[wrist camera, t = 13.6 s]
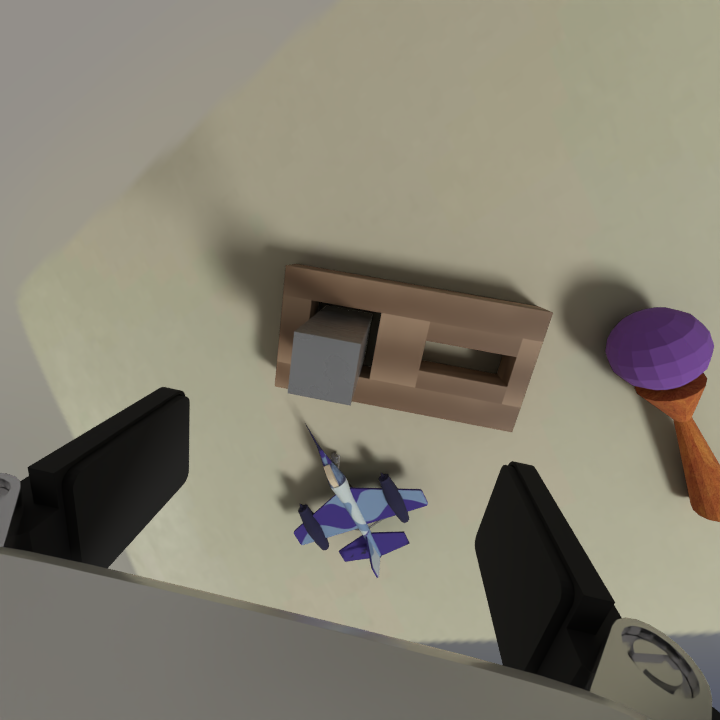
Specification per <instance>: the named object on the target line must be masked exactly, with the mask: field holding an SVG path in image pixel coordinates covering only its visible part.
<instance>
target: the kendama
mask: <svg viewBox="0 0 720 720" xmlns="http://www.w3.org/2000/svg"><path fill="white" fill-rule="evenodd" d="M713 349H714V344H713V341H712V338H711V335H710V332H709V331H708V329H707V328H706V327H705V326H704V325H703V324H702V323H701V322H700V321H699V320H697V319H696V318H695V317H694V316H692V315H691V314H689V313H686V312H682V311H679V310H674V309H670V308H666V307H655V308H649V309H644V310H641V311H638V312H635V313H632V314H630V315H628V316H626V317H625V318H623V319H622V320H621V321H620V322H619V323H618V324H617V325H616V326H615V327H614V329H613V330H612V331H611V332H610V334H609V336H608V339H607V344H606V351H605V352H606V355H607V358H608V361H609V363H610V365H611V367H612V370H613V372H615V373H616V374H617V375H619V376H620V377H621V378H622V379H624V380H625V381H627V382H628V383H630V384H631V385H633V386H635V390H636V392H637V394H638V395H640V396H641V397H643V398H644V399H646V400H647V401H648V402H650V403H651V404H653V405H654V406H655V407H657V408H658V409H660V410H661V411H662V412H664V413H665V414H667V415H668V416H669V417H671V418H672V419H673V420H674V425H675V430H676V434H677V439H678V444H679V449H680V454H681V459H682V464H683V469H684V474H685V479H686V484H687V488H688V493H689V498H690V503H691V506H692V508H693V510H694V511H695V512H696V513H697V514H698V515H700V516H702V517H704V518H706V519H708V520H712V521H717V522H720V465H719V463H718V461H717V459H716V458H715V456H714V454H713V453H712V451H711V449H710V447H709V446H708V444H707V442H706V441H705V439H704V437H703V435H702V434H701V432H700V430H699V429H698V427H697V425H696V424H695V422H694V420H693V418H692V415H693V413H694V411H695V408H696V406H697V404H698V402H699V399H700V397H701V395H702V393H703V390H704V388H705V386H706V382H707V377H706V376H705V374H704V373H703V372H704V371H705V370H706V369H707V368H708V365H709V362H710V360H711V357H712V353H713Z"/></svg>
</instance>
